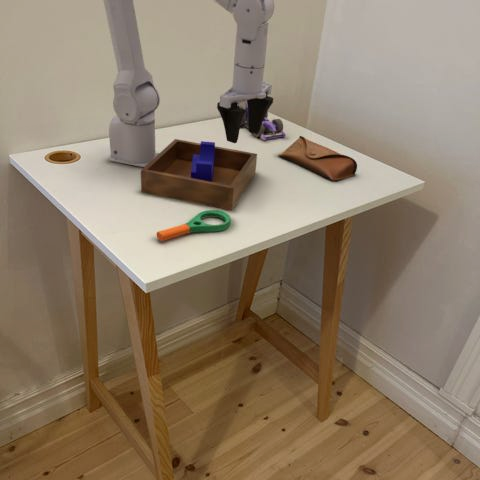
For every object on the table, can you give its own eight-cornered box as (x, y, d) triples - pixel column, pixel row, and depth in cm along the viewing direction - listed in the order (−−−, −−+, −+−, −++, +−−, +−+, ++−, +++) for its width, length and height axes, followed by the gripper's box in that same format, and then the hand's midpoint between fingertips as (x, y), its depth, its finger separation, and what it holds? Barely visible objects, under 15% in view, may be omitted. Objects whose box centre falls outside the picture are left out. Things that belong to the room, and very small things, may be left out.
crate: (141, 192, 104) (140, 170, 101) (175, 158, 118) (175, 138, 115) (232, 210, 101) (233, 188, 98) (255, 173, 115) (257, 153, 112)
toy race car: (259, 142, 131) (262, 116, 127) (228, 123, 140) (230, 98, 136) (289, 137, 135) (293, 111, 131) (257, 119, 144) (259, 94, 140)
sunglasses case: (275, 154, 124) (288, 127, 122) (289, 163, 129) (302, 138, 128) (334, 181, 114) (349, 152, 113) (347, 189, 120) (361, 162, 118)
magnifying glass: (216, 212, 100) (217, 204, 98) (236, 225, 96) (237, 217, 95) (149, 234, 91) (149, 225, 90) (169, 249, 88) (169, 240, 87)
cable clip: (193, 167, 114) (193, 140, 110) (213, 169, 114) (215, 142, 110) (188, 191, 104) (188, 162, 101) (210, 193, 105) (211, 164, 101)
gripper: (243, 75, 90) (237, 151, 98) (287, 63, 99) (278, 134, 108) (212, 66, 93) (208, 141, 101) (257, 55, 102) (251, 125, 111)
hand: (242, 137), depth 105 cm, fingers open, 7 cm apart
